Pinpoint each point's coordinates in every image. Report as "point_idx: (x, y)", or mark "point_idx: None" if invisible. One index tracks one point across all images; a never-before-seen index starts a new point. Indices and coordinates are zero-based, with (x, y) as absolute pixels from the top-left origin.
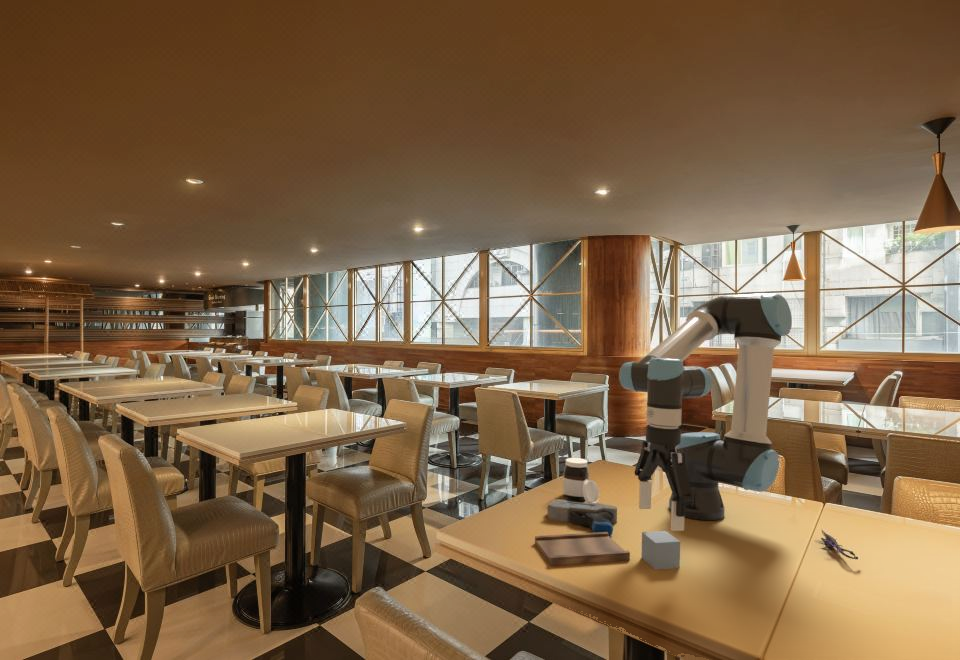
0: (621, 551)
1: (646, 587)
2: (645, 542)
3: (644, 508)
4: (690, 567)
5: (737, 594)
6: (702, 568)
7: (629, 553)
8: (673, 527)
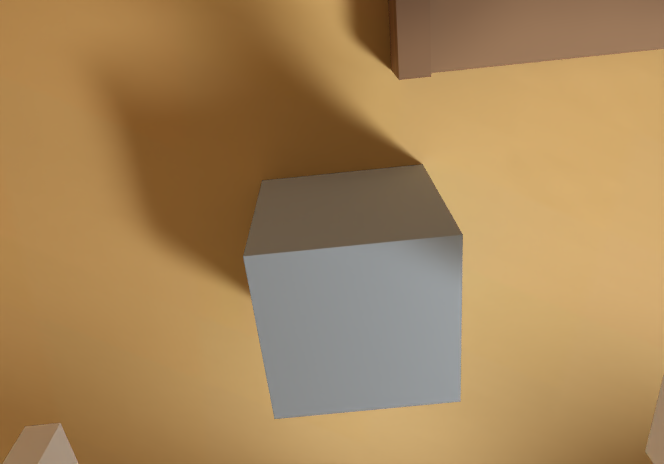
0: (423, 19)
1: (22, 29)
2: (394, 214)
3: (660, 402)
4: None
5: None
6: None
7: (397, 75)
8: (8, 461)
